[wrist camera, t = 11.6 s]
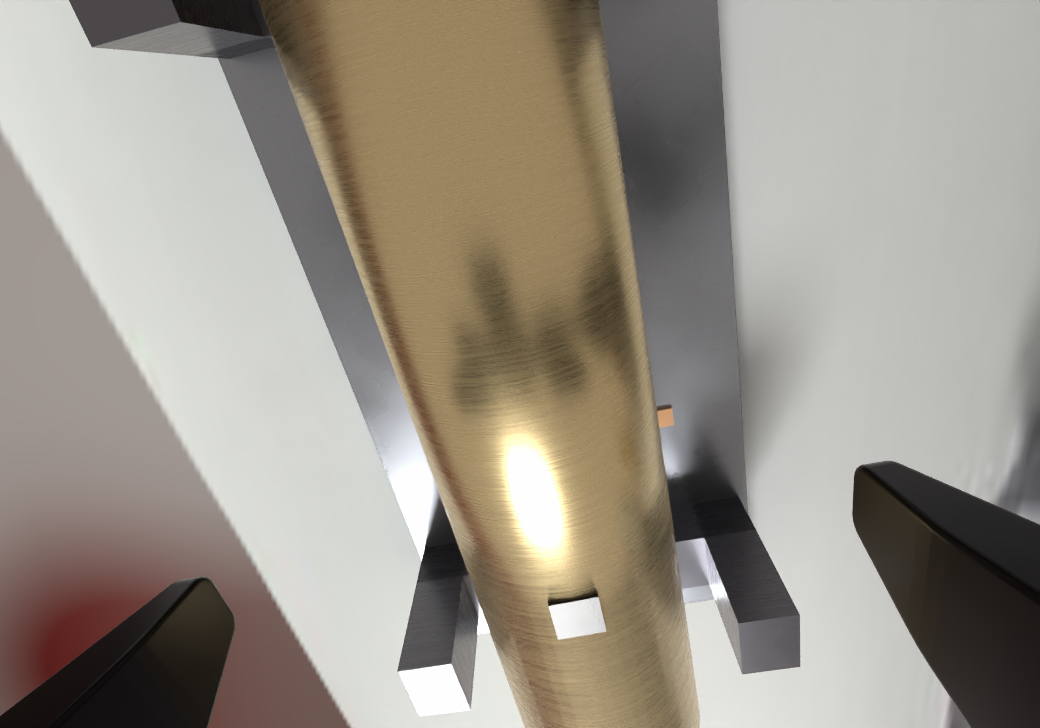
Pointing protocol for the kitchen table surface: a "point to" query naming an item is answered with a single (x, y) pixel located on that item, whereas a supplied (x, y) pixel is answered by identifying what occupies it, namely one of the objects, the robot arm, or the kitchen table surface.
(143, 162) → the kitchen table surface
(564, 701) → the tube
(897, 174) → the kitchen table surface
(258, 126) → the collar cradle
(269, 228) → the kitchen table surface
